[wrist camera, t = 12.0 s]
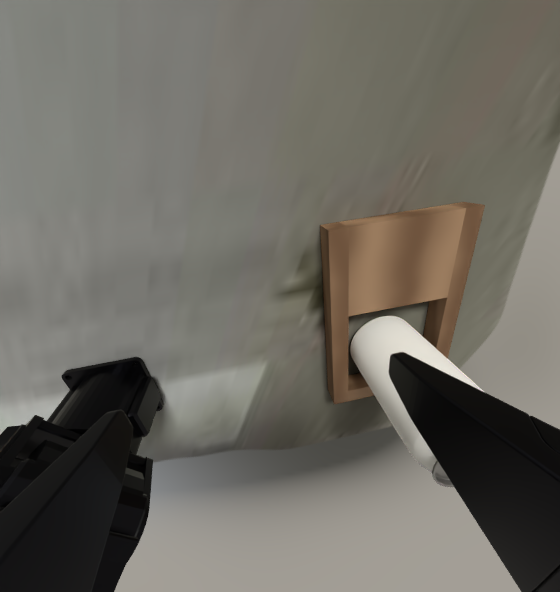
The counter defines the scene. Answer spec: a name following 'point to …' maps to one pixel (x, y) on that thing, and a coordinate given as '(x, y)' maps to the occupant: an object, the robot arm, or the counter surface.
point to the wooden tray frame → (394, 277)
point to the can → (375, 369)
